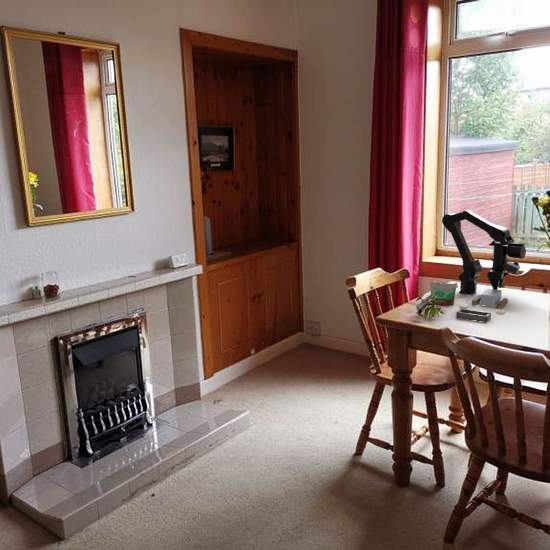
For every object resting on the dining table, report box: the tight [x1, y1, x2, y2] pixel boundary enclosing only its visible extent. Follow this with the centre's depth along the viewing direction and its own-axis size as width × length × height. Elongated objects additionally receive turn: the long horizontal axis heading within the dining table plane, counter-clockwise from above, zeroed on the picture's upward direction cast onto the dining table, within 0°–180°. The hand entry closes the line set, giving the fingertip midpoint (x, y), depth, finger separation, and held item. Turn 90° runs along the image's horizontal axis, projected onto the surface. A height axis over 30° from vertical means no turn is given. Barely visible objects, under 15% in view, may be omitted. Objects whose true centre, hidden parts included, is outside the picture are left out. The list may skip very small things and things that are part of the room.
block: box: [479, 288, 502, 308], centre depth 245 cm, size 6×12×5 cm, turn 146°
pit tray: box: [455, 308, 492, 323], centre depth 224 cm, size 12×6×2 cm, turn 55°
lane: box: [471, 294, 509, 310], centre depth 244 cm, size 12×11×2 cm
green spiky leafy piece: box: [415, 293, 444, 321], centre depth 227 cm, size 11×11×12 cm
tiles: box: [459, 304, 506, 315], centre depth 234 cm, size 18×3×1 cm, turn 55°
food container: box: [428, 280, 459, 307], centre depth 243 cm, size 12×6×10 cm, turn 71°
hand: (497, 289), depth 254 cm, fingers open, 8 cm apart
